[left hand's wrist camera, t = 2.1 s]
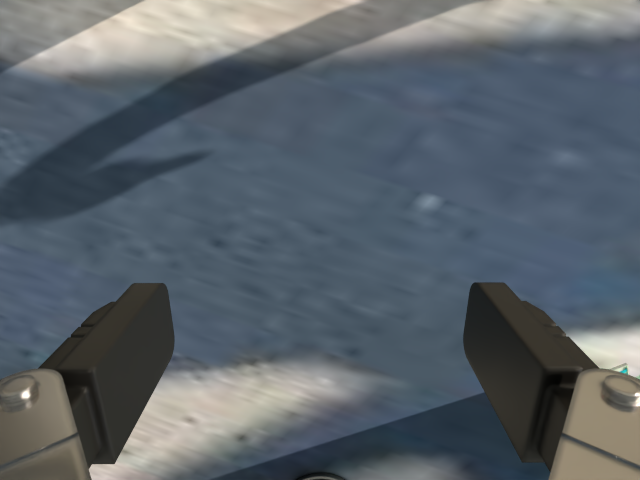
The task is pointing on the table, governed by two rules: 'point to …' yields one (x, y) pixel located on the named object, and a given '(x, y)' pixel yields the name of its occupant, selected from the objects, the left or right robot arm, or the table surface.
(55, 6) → the table surface
